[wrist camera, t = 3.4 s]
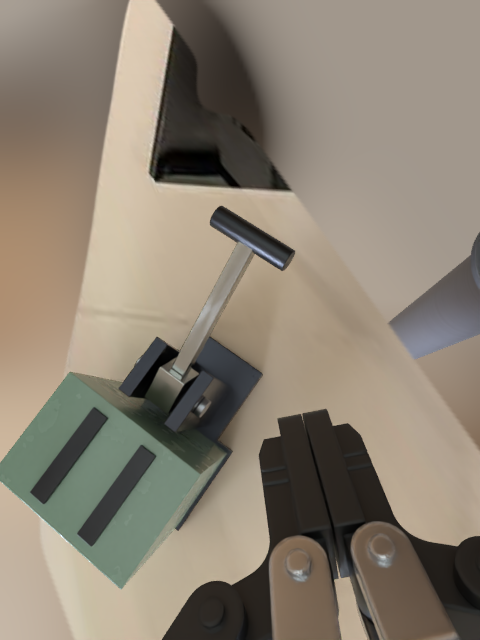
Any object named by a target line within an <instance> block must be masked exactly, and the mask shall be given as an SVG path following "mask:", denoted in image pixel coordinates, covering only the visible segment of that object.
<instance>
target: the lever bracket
mask: <svg viewBox="0 0 480 640" xmlns="http://www.w3.org/2000/svg"><path fill="white" fill-rule="evenodd" d="M179 352H180V351H179V350H177V349H176V348H174V347H173V346H171V345H169V344H168V343H166V342H165V341H163V340H162V339H160V338H158V337H156V339H155V340H154V341H153V343H152V344H151V345H150V347H149V348H148V349H147V351H146V352H145V353H144V355H142V356H141V357H140V358H139V359H138V360H137V362H136V363H135V366H134V368H133V370H132V371H131V372H130V374H129V375H128V376H127V378H126V379H125V380H124V382H123V383H122V384H121V386H120V387H119V390H120V391H122V392H123V393H124V394H126V395H127V396H128V397H134V398H143V399H147V398H146V397H145V394H146V392H147V390H148V388H149V386H150V384H151V382H152V380H153V379H154V377H155V375H156V373H157V371H158V369H159V367H160V366H162V365H163V364H165V363H167V362H169V361H171V360H172V359H174V358H177V356H178V354H179ZM192 369H193V370H195V371H196V372H197V373H199V375H198V376H197V378H196V379H195V381H194V382H193V383H192V385H191V386H190V388H189V389H188V390H187V392H186V393H185V395H184V396H183V397H182V399H181V400H180V402H179V403H178V404H177V406H176V407H175V409H174V410H173V411H172V413H171V414H170V416H169V417H168V418H167V420H166V421H165V422H164V425H166V426H167V427H168V428H170V429H171V430H172V431H174V432H181V431H186V430H191V429H196V430H198V431H199V432H200V433H201V434H203V435H204V436H205V437H207V438H208V439H209V440H211V441H212V442H213V443H216V441H217V440H218V439H219V438H220V436H221V435H222V433H223V432H224V431H225V429H226V428H227V426H228V425H229V423H230V422H231V420H232V419H233V418H234V416H235V415H236V413H237V412H238V410H239V409H240V407H241V406H242V405H243V403H244V402H245V400H246V399H247V397H248V396H249V394H250V393H251V392H252V390H253V389H254V387H255V386H256V384H257V383H258V381H259V380H260V379H261V377H262V376H263V374H262V373H261V372H260V371H258V370H257V369H255V368H254V367H252V366H251V365H250V364H248V363H247V362H245V361H244V360H242V359H241V358H240V357H238V356H237V355H235V354H234V353H232V352H231V351H230V350H228V349H227V348H225V347H224V346H222V345H221V344H220V343H218V342H217V341H215V340H214V339H212V338H211V337H210V336H209V338H208V340H207V341H206V343H205V345H204V347H203V349H202V351H201V352H200V354H199V356H198V358H197V360H196V361H195V363H194V365H193V367H192Z"/></svg>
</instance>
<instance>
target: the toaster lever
mask: <svg viewBox="0 0 480 640" xmlns="http://www.w3.org/2000/svg"><path fill="white" fill-rule="evenodd" d="M210 225H211V226H212V227H213V228H215V229H217V230H218V231H220V232H221V233H223V234H224V235H226V236H228V237H229V238H231V239H232V240H234V241H235V242H237V245H236V247H235V248H234V250H233V252H232V254H231V256H230V258H229V260H228V262H227V264H226V265H225V267H224V269H223V271H222V273H221V275H220V277H219V279H218V281H217V282H216V284H215V286H214V288H213V290H212V292H211V294H210V296H209V297H208V299H207V301H206V303H205V305H204V307H203V309H202V311H201V313H200V314H199V316H198V318H197V320H196V322H195V324H194V326H193V328H192V329H191V331H190V333H189V335H188V337H187V339H186V341H185V343H184V345H183V346H182V348H181V350H180V352H179V354H178V356H177V358H174V359H172V360H171V361H169V362H167V363H165V364H163V365H162V366H160V367H159V369H158V371H157V373H156V375H155V377H154V379H153V380H152V382H151V384H150V386H149V388H148V390H147V392H146V394H145V397H146V398H147V399H148V400H150V401H151V402H152V403H153V404H155V405H156V406H157V407H159V408H160V409H161V410H163V411H164V412H165V413H167V414H169V413H170V412H172V411H173V410H174V409H175V407H176V406H177V404H178V403H179V402H180V400H181V399H182V397H183V396H184V395H185V393H186V392H187V390H188V389H189V388H190V386H191V385H192V383H193V382H194V381H195V379H196V378H197V376H198V375H199V373H197V372H196V371H195V370H193V369H192V367H193V365H194V363H195V361H196V360H197V358H198V356H199V354H200V352H201V351H202V349H203V347H204V345H205V343H206V341H207V340H208V338H209V336H210V334H211V332H212V331H213V329H214V327H215V325H216V323H217V322H218V320H219V318H220V316H221V314H222V313H223V311H224V309H225V307H226V305H227V304H228V302H229V300H230V298H231V296H232V294H233V293H234V291H235V289H236V287H237V285H238V284H239V282H240V280H241V278H242V276H243V275H244V273H245V271H246V269H247V267H248V266H249V264H250V262H251V260H252V258H253V256H254V255H255V254H256V255H258V256H259V257H261V258H262V259H264V260H265V261H267V262H269V263H270V264H272V265H273V266H275V267H277V268H278V269H280V270H281V271H284V270H285V269H286V268H287V267H288V265H289V264H290V262H291V261H292V259H293V257H294V255H295V250H293V249H291V248H290V247H288V246H287V245H285V244H283V243H282V242H280V241H278V240H277V239H275V238H274V237H272V236H270V235H269V234H267V233H265V232H264V231H262V230H261V229H259V228H257V227H256V226H254V225H253V224H251V223H249V222H248V221H246V220H244V219H243V218H241V217H240V216H238V215H236V214H235V213H233V212H231V211H230V210H228V209H227V208H225V207H223V206H220V207H218V208H217V209H216V210H215V212H214V213H213V215H212V217H211V220H210Z"/></svg>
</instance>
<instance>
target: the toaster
mask: <svg viewBox="0 0 480 640" xmlns="http://www.w3.org/2000/svg"><path fill="white" fill-rule="evenodd" d="M122 383H123V382H119V381H114V380H109V379H104V378H99V377H94V376H89V375H84V374H79V373H74V372H69V374H68V375H67V376H66V378H65V379H64V380H63V382H62V383H61V384H60V386H59V387H58V388H57V390H56V391H55V392H54V393H53V395H52V396H51V397H50V399H49V400H48V401H47V402H46V404H45V405H44V406H43V408H42V409H41V410H40V412H39V413H38V414H37V416H36V417H35V418H34V420H33V421H32V422H31V424H30V425H29V426H28V427H27V429H26V430H25V431H24V433H23V434H22V435H21V436H20V438H19V439H18V440H17V442H16V443H15V445H14V446H13V447H12V448H11V450H10V451H9V452H8V454H7V455H6V456H5V457H4V459H3V460H2V461H1V463H0V481H1V482H2V483H3V484H4V485H5V486H6V487H7V488H9V490H11V491H12V492H13V493H14V494H15V495H16V496H17V497H18V498H20V499H21V500H22V501H23V502H24V503H25V504H26V505H27V506H28V507H30V508H31V509H32V510H33V511H34V512H35V513H36V514H37V515H38V516H40V517H41V518H42V519H43V520H44V521H45V522H46V523H47V524H48V525H50V526H51V527H52V528H53V529H54V530H55V531H56V532H57V533H58V534H60V535H61V536H62V537H63V538H64V539H65V540H66V541H67V542H69V543H70V544H71V545H72V546H73V547H74V548H75V549H76V550H77V551H79V552H80V553H81V554H82V555H83V556H84V557H85V558H86V559H87V560H89V561H90V562H91V563H92V564H93V565H94V566H95V567H96V568H98V569H99V570H100V571H101V572H102V573H103V574H104V575H105V576H106V577H108V578H109V579H110V580H111V581H112V582H113V583H114V584H115V585H116V586H118V587H119V588H120V589H122V588H123V587H124V586H125V585H126V583H127V582H128V581H129V580H130V579H131V578H132V577H133V576H134V574H135V573H136V572H137V571H138V570H139V569H140V568H141V567H142V565H143V564H144V563H145V562H146V561H147V560H148V559H149V558H150V556H151V555H152V554H153V553H154V552H155V551H156V550H157V549H158V547H159V546H160V545H161V544H162V543H163V542H164V541H165V540H166V538H167V537H168V536H169V535H170V534H171V533H172V532H173V531H174V529H176V530H177V531H178V530H179V529H180V528H181V527H182V525H183V524H184V522H185V521H186V519H187V518H188V516H189V515H190V513H191V512H192V511H193V509H194V508H195V506H196V505H197V503H198V502H199V500H200V499H201V497H202V496H203V494H204V493H205V492H206V490H207V489H208V487H209V486H210V484H211V483H212V481H213V480H214V478H215V477H216V475H217V474H218V473H219V471H220V470H221V468H222V467H223V465H224V464H225V462H226V461H227V459H228V458H229V456H230V455H231V454H232V452H233V451H232V450H231V449H229V448H228V447H227V446H225V445H224V444H223V443H221V442H220V441H219V440H217V441H216V443H213V442H212V441H211V440H209V439H208V438H207V437H205V436H204V435H203V434H201V433H200V432H199V431H198V430H196V429H191V430H186V431H181V432H174V431H172V430H171V429H170V428H168V427H167V426H166V425H164V422H165V421H166V420H167V418H168V417H169V416H170V414H171V413H172V412H170V413H169V414H167V413H165V412H164V411H163V410H161V409H160V408H159V407H157V406H156V405H155V404H153V403H152V402H151V401H150V400H148V399H143V398H134V397H128V396H127V395H126V394H124V393H123V392H122V391H120V390H119V387H120V386H121V384H122Z"/></svg>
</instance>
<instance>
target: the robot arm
mask: <svg viewBox="0 0 480 640" xmlns="http://www.w3.org/2000/svg"><path fill="white" fill-rule="evenodd" d="M277 419H278V424H279V429H280V434H281V436H280V437H275V438H269V439H264V441H263V444H262V447H261V450H260V453H259V460H260V468H261V475H262V483H263V490H264V498H265V505H266V513H267V520H268V528H269V535H270V546H269V551H268V554H267V556H266V558H265V560H264V562H263V563H262V565H261V566H260V567H259V568H258V569H257V570H256V571H255V572H253V573H252V574H250V575H249V576H247V577H245V578H244V579H242V580H240V581H239V582H237V583H235V584H233V585H232V586H231V585H230V584H228V583H226V582H222V581H211V582H208V583H205V584H203V585H201V586H200V587H199V588H197V589H196V590H195V591H194V592H193V593H192V595H191V596H190V597H189V599H188V600H187V602H186V603H185V605H184V606H183V608H182V609H181V611H180V612H179V614H178V616H177V617H176V619H175V620H174V622H173V623H172V625H171V626H170V628H169V629H168V631H167V632H166V634H165V635H164V637H163V639H162V640H342V639H341V633H340V627H339V621H338V615H339V609H338V602H337V595H336V589H335V582H334V579H339V578H338V571H337V564H338V568H339V572H340V576H341V578H343V577H349V576H350V579H351V583H352V586H353V590H354V593H355V597H356V605H357V610H358V614H359V617H360V620H361V623H362V626H363V628H364V631H365V634H366V637H367V640H480V536H474V537H470V538H468V539H465V540H464V541H463V542H461V543H460V545H459V546H451V545H445V544H438V543H432V542H427V541H424V540H421V539H419V538H417V537H415V536H413V535H411V534H410V533H408V532H407V531H406V530H405V529H403V528H402V526H401V525H400V524H399V523H398V522H397V520H396V519H395V517H394V515H393V512H392V510H391V507H390V505H389V503H388V500H387V498H386V495H385V493H384V491H383V488H382V486H381V483H380V481H379V478H378V476H377V474H376V471H375V469H374V467H373V465H372V462H371V459H370V457H369V454H368V453H367V449H366V447H365V445H364V442H363V440H362V437H361V435H360V434H359V433H358V432H357V431H356V430H355V429H353V428H352V427H351V426H350V425H349V424H348V423H347V424H342V425H337V426H332V423H331V420H330V417H329V414H328V411H327V409H323V410H318V411H313V412H308V413H303V420H302V416H301V414H298V415H293V416H288V417H282V418H277ZM303 421H304V424H303ZM336 560H337V564H336Z"/></svg>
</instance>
